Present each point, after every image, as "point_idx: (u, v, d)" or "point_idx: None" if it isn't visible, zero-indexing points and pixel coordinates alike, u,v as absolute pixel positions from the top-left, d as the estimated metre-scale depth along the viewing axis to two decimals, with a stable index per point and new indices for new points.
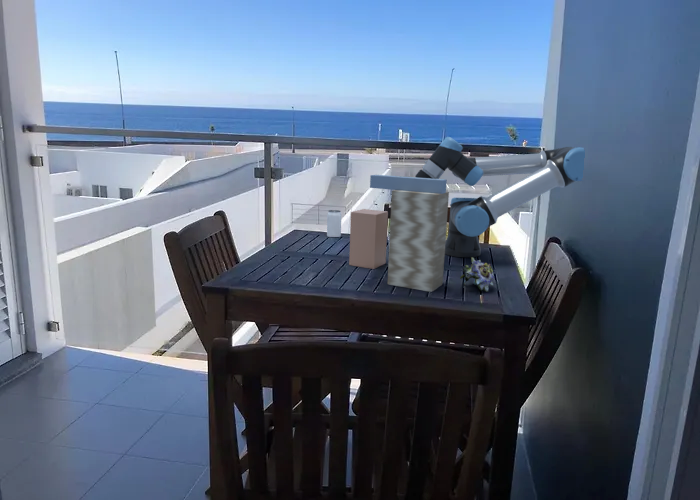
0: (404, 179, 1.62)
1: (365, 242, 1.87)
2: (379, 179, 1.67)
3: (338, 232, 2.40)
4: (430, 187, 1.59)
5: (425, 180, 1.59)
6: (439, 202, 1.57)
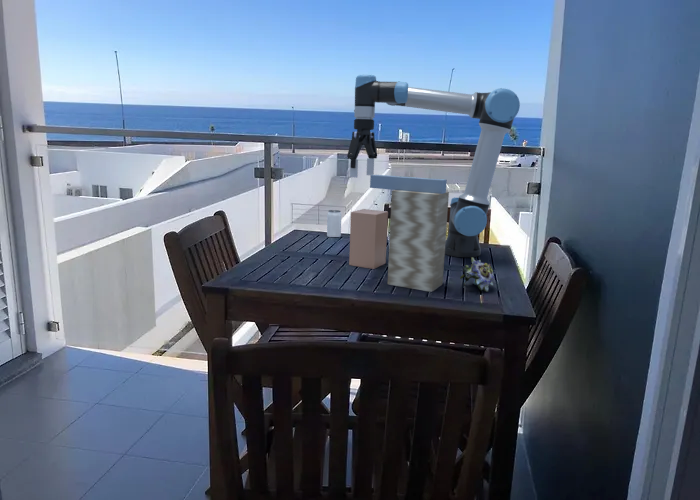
0: (404, 179, 1.62)
1: (365, 242, 1.87)
2: (379, 179, 1.67)
3: (338, 232, 2.40)
4: (430, 187, 1.59)
5: (425, 180, 1.59)
6: (439, 202, 1.57)
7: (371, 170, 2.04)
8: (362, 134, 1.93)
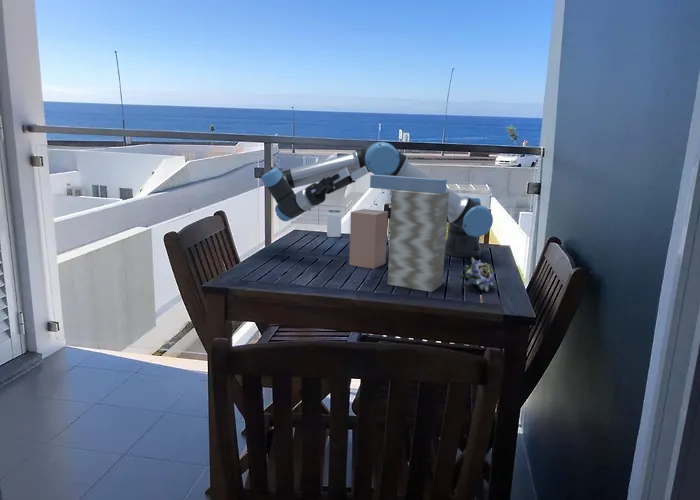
0: (404, 179, 1.62)
1: (365, 242, 1.87)
2: (379, 179, 1.67)
3: (338, 232, 2.40)
4: (430, 187, 1.59)
5: (425, 180, 1.59)
6: (439, 202, 1.57)
7: (360, 170, 1.86)
8: None
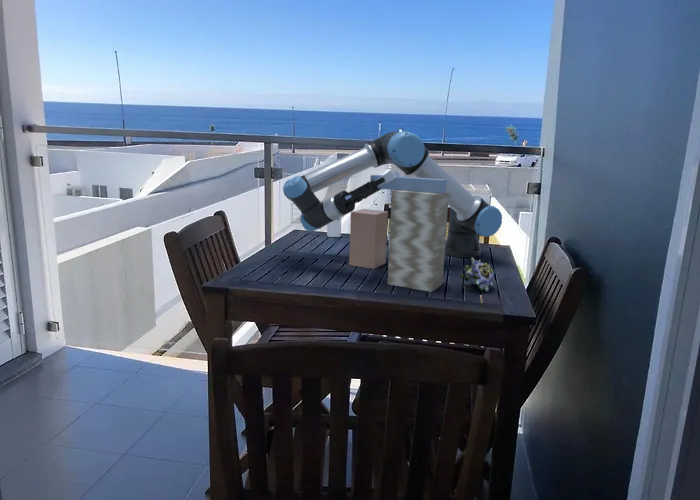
0: (404, 179, 1.62)
1: (365, 242, 1.87)
2: None
3: (338, 232, 2.40)
4: (430, 187, 1.59)
5: (425, 180, 1.59)
6: (439, 202, 1.57)
7: None
8: None
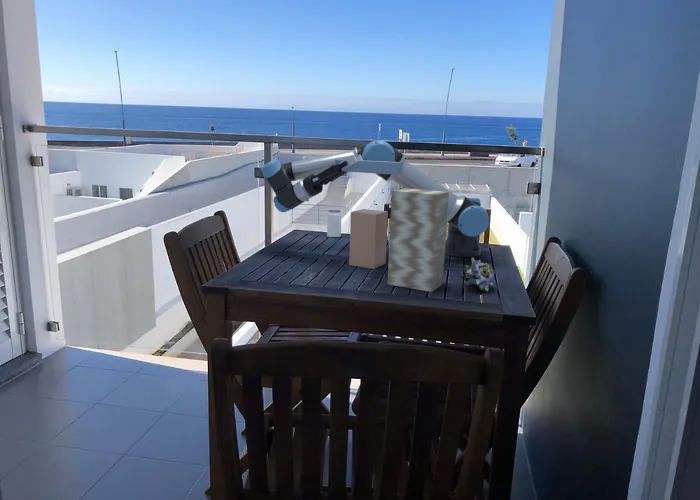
0: (365, 162, 1.81)
1: (365, 242, 1.87)
2: None
3: (338, 232, 2.40)
4: (388, 169, 1.77)
5: (383, 162, 1.77)
6: (439, 202, 1.57)
7: (355, 158, 1.86)
8: None
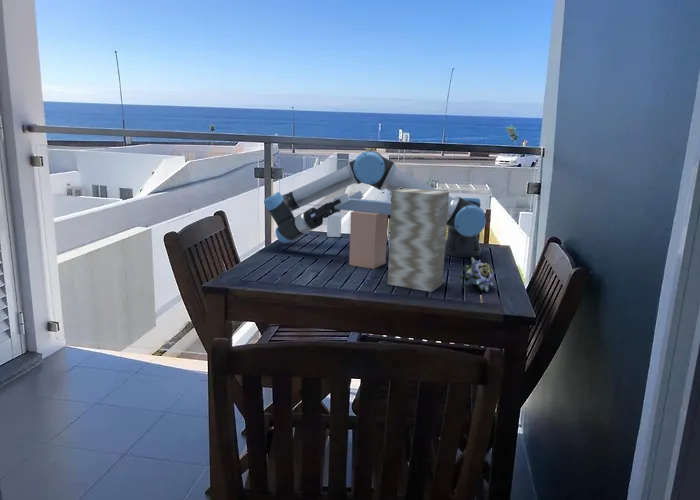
0: (362, 202, 1.88)
1: (365, 242, 1.87)
2: None
3: (338, 232, 2.40)
4: (384, 209, 1.84)
5: (380, 203, 1.84)
6: (439, 202, 1.57)
7: (355, 194, 1.96)
8: None
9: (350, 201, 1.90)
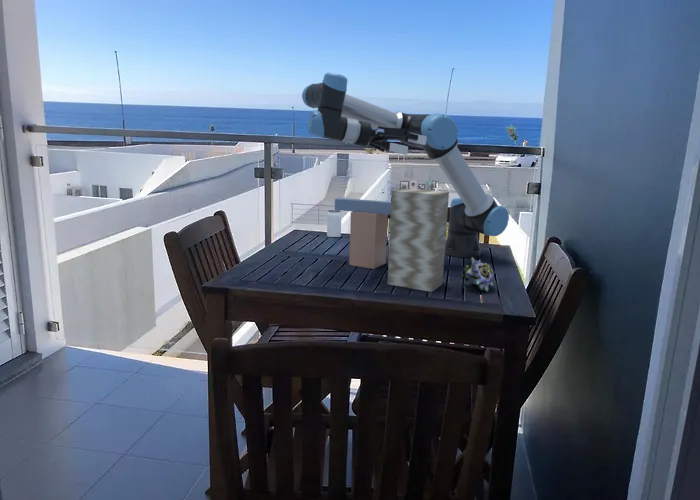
0: (365, 202, 1.86)
1: (365, 242, 1.87)
2: (343, 202, 1.89)
3: (338, 232, 2.40)
4: (388, 210, 1.84)
5: (383, 203, 1.84)
6: (439, 202, 1.57)
7: (402, 147, 1.79)
8: None
9: (352, 202, 1.88)
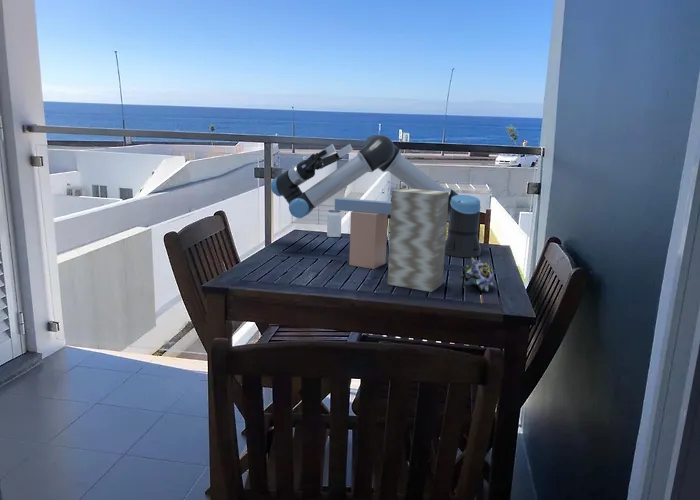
0: (365, 202, 1.86)
1: (365, 242, 1.87)
2: (343, 202, 1.89)
3: (338, 232, 2.40)
4: (388, 210, 1.84)
5: (383, 203, 1.84)
6: (439, 202, 1.57)
7: None
8: None
9: (352, 202, 1.88)
